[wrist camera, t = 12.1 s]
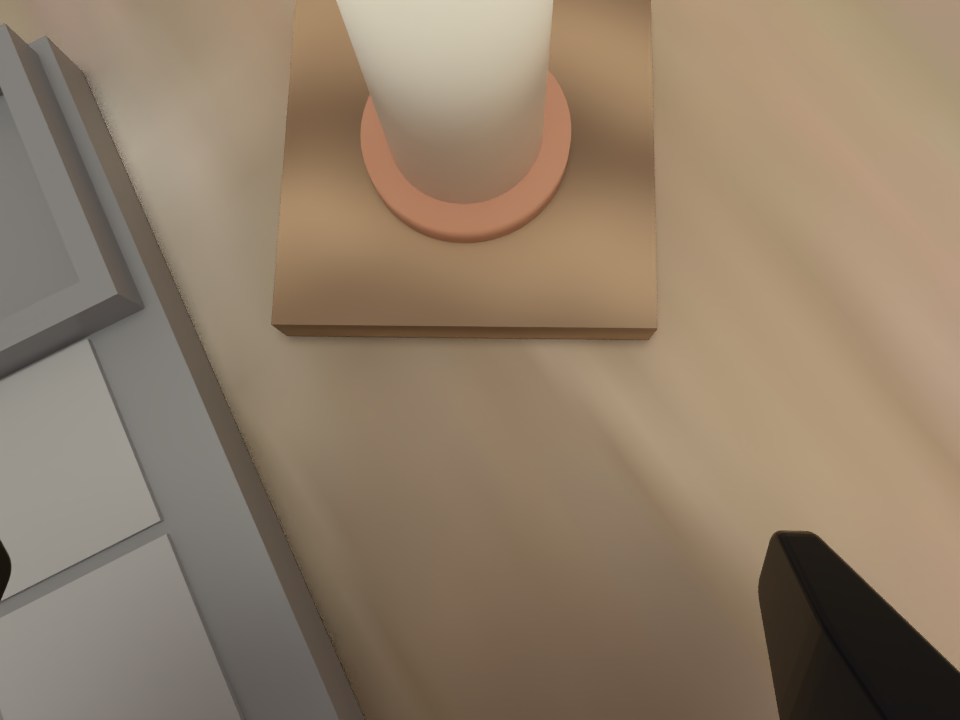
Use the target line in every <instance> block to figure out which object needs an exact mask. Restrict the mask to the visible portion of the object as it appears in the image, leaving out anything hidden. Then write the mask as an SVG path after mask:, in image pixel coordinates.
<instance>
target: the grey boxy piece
mask: <svg viewBox="0 0 960 720" xmlns="http://www.w3.org/2000/svg"><path fill="white" fill-rule="evenodd" d="M0 540H1V541H2V543H3V545H4V547H5V549H6V550H7V552H8V554H9V556H10V559H11V564H12V566H11V575H10V579H9V582H8V584H7V587H6V589H5V592H4V594H3V597H2V599H1V601H0V720H365V719H364V717H363V714H362V712H361V710H360V708H359V705H358V703H357V701H356V698H355V696H354V694H353V691H352V689H351V687H350V685H349V682H348V680H347V678H346V675H345V673H344V671H343V669H342V666H341V664H340V662H339V659H338V657H337V655H336V652H335V650H334V648H333V646H332V643H331V641H330V639H329V636H328V634H327V632H326V629H325V627H324V625H323V623H322V620H321V618H320V616H319V613H318V611H317V609H316V607H315V604H314V602H313V600H312V597H311V595H310V593H309V590H308V588H307V586H306V584H305V581H304V579H303V577H302V574H301V572H300V570H299V567H298V565H297V563H296V561H295V558H294V556H293V554H292V551H291V549H290V547H289V545H288V542H287V540H286V538H285V535H284V533H283V531H282V528H281V526H280V524H279V522H278V519H277V517H276V515H275V512H274V510H273V508H272V505H271V503H270V501H269V499H268V496H267V494H266V492H265V489H264V487H263V485H262V483H261V480H260V478H259V476H258V473H257V471H256V469H255V466H254V464H253V462H252V460H251V457H250V455H249V453H248V450H247V448H246V446H245V444H244V441H243V439H242V437H241V434H240V432H239V430H238V427H237V425H236V423H235V421H234V418H233V416H232V414H231V411H230V409H229V407H228V404H227V402H226V400H225V398H224V395H223V393H222V391H221V388H220V386H219V384H218V382H217V379H216V377H215V375H214V372H213V370H212V368H211V365H210V363H209V361H208V359H207V356H206V354H205V352H204V349H203V347H202V345H201V342H200V340H199V338H198V336H197V333H196V331H195V329H194V326H193V324H192V322H191V320H190V317H189V315H188V313H187V310H186V308H185V306H184V303H183V301H182V299H181V297H180V294H179V292H178V290H177V287H176V285H175V283H174V280H173V278H172V276H171V274H170V271H169V269H168V267H167V264H166V262H165V260H164V258H163V255H162V253H161V251H160V248H159V246H158V244H157V241H156V239H155V237H154V235H153V232H152V230H151V228H150V225H149V223H148V221H147V218H146V216H145V214H144V212H143V209H142V207H141V205H140V202H139V200H138V198H137V196H136V193H135V191H134V189H133V186H132V184H131V182H130V179H129V177H128V175H127V173H126V170H125V168H124V166H123V163H122V161H121V159H120V156H119V154H118V152H117V150H116V147H115V145H114V143H113V140H112V138H111V136H110V134H109V131H108V129H107V127H106V124H105V122H104V120H103V117H102V115H101V113H100V111H99V108H98V106H97V104H96V101H95V99H94V97H93V95H92V92H91V90H90V88H89V85H88V83H87V81H86V78H85V76H84V74H83V72H82V71H81V70H80V69H79V68H78V67H77V66H76V65H75V64H74V63H73V62H72V61H71V60H70V59H69V58H68V57H67V56H66V55H65V54H64V53H63V52H62V51H61V50H60V49H59V48H58V47H57V46H56V45H55V44H54V43H53V42H52V41H51V40H50V39H49V38H48V37H47V36H44V37H42V38H40V39H38V40H36V41H34V42H32V43H29V44H27V43H25V42H24V41H23V40H22V39H21V38H20V37H19V36H18V35H17V34H16V33H15V32H14V31H13V30H11V29H10V28H9V27H8V26H7V25H6V24H3V25H0Z"/></svg>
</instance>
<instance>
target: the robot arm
mask: <svg viewBox="0 0 960 720" xmlns="http://www.w3.org/2000/svg"><path fill="white" fill-rule="evenodd" d="M11 566H12V564H11V559H10V556H9V554H8V552H7V550H6V549H5V547H4V545H3V543H2V541H1V540H0V601H1V599H2V597H3V594H4V592H5V589H6V587H7V584H8V582H9V579H10V575H11ZM758 593H759V603H760V609H761V614H762V620H763V626H764V632H765V638H766V643H767V649H768V655H769V661H770V666H771V672H772V678H773V684H774V689H775V695H776V701H777V707H778V712H779V718H780V720H960V672H959V671H958V670H957V669H956V668H955V667H954V666H953V665H952V664H951V663H950V662H949V661H948V660H947V659H946V658H945V657H944V656H943V655H942V654H941V653H939V652H938V651H937V650H936V649H935V648H934V647H933V646H932V645H931V644H930V643H929V642H928V641H927V640H926V639H925V638H924V637H923V636H922V635H921V634H920V633H919V632H918V631H917V630H916V629H915V628H914V627H912V626H911V625H910V624H909V623H908V622H907V621H906V620H905V619H904V618H903V617H902V616H901V615H900V614H899V613H898V612H897V611H896V610H895V609H894V608H893V607H892V606H891V605H890V604H889V603H888V602H886V601H885V600H884V599H883V598H882V597H881V596H880V595H879V594H878V593H877V592H876V591H875V590H874V589H873V588H872V587H871V586H870V585H869V584H868V583H867V582H866V581H865V580H864V579H863V578H862V577H860V576H859V575H858V574H857V573H856V572H855V571H854V570H853V569H852V568H851V567H850V566H849V565H848V564H847V563H846V562H845V561H844V560H843V559H842V558H841V557H840V556H839V555H838V554H837V553H836V552H834V551H833V550H832V549H831V548H830V547H829V546H828V545H827V544H826V543H825V542H824V541H823V540H822V539H821V538H820V537H819V536H818V535H816V534H814V533H812V532H809V531H777V532H775V533H774V534H773V535H772V537H771V539H770V542H769V546H768V549H767V553H766V556H765V560H764V564H763V567H762V571H761V575H760V578H759V586H758Z"/></svg>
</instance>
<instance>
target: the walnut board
mask: <svg viewBox="0 0 960 720" xmlns="http://www.w3.org/2000/svg"><path fill="white" fill-rule="evenodd" d="M548 70H549V71H550V72H551V74H552V75H553V76H554V77H555V79H556V80H557V82H558V84H559V85H560V87H561V89H562V91H563V93H564V96H565V98H566V101H567V104H568V108H569V112H570V118H571V143H570V149H569V155H568V161H567V167H566V171H565V174H564V177H563V180H562V182H561V184H560V186H559V188H558V190H557V192H556V194H555V195H554V197H553V198H552V200H551V201H550V203H549V204H548V205H547V206H546V207H545V208H544V210H543V211H542V212H541V213H540V214H539V215H537V216H536V217H535V218H534V219H533V220H532V221H530V222H529V223H527V224H526V225H525V226H523V227H522V228H520V229H518V230H516V231H514V232H512V233H510V234H508V235H505V236H503V237H500V238H497V239H493V240H489V241H485V242H477V243H454V242H447V241H442V240H438V239H435V238H431V237H428V236H426V235H424V234H421V233H419V232H417V231H415V230H414V229H412V228H410V227H409V226H407V225H406V224H404V223H403V222H402V221H401V220H399V219H398V218H397V217H396V216H395V215H394V214H393V213H392V212H391V211H390V210H389V209H388V208H387V206H386V205H385V203H384V202H383V201H382V199H381V198H380V196H379V194H378V192H377V190H376V189H375V187H374V184H373V182H372V180H371V178H370V176H369V173H368V171H367V168H366V165H365V162H364V159H363V154H362V149H361V138H360V133H361V121H362V117H363V112H364V108H365V106H366V103H367V100H368V97H369V95H370V93H369V90H368V87H367V85H366V82H365V79H364V76H363V74H362V71H361V68H360V65H359V62H358V60H357V57H356V54H355V51H354V49H353V46H352V43H351V40H350V37H349V35H348V32H347V29H346V26H345V23H344V21H343V18H342V15H341V12H340V10H339V7H338V4H337V1H336V0H296V3H295V16H294V30H293V43H292V56H291V69H290V83H289V96H288V109H287V122H286V136H285V149H284V162H283V175H282V189H281V202H280V215H279V228H278V241H277V255H276V268H275V281H274V294H273V308H272V321H271V325H273V326H274V327H276V328H277V329H278V330H280V331H281V332H283V333H284V334H285V335H287V336H363V337H456V338H550V339H643V340H649V339H650V337H651V336H652V335H653V334H654V332H655V331H656V330H657V328H658V323H657V275H656V227H655V178H654V130H653V82H652V34H651V0H553V11H552V23H551V36H550V49H549V62H548Z"/></svg>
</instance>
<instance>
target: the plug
mask: <svg viewBox="0 0 960 720" xmlns="http://www.w3.org/2000/svg"><path fill="white" fill-rule="evenodd" d="M336 1H337V4H338V7H339V10H340V12H341V15H342V18H343V21H344V23H345V26H346V29H347V32H348V35H349V37H350V40H351V43H352V46H353V49H354V51H355V54H356V57H357V60H358V62H359V65H360V68H361V71H362V74H363V76H364V79H365V82H366V85H367V87H368V90H369V93H370V95H369V97H368V100H367V103H366V106H365V108H364V112H363V117H362V121H361V133H360V138H361V149H362V154H363V159H364V162H365V165H366V168H367V171H368V173H369V176H370V178H371V180H372V182H373V184H374V187H375V189H376V190H377V192H378V194H379V196H380V198H381V199H382V201H383V202H384V203H385V205H386V206H387V208H388V209H389V210H390V211H391V212H392V213H393V214H394V215H395V216H396V217H397V218H398V219H399V220H401V221H402V222H403V223H404V224H406V225H407V226H409V227H410V228H412V229H414V230H415V231H417V232H419V233H421V234H424V235H426V236H428V237H431V238H435V239H438V240H442V241H447V242H454V243H477V242H485V241H489V240H493V239H497V238H500V237H503V236H505V235H508V234H510V233H512V232H514V231H516V230H518V229H520V228H522V227H523V226H525V225H526V224H527V223H529V222H530V221H532V220H533V219H534V218H535V217H536V216H537V215H539V214H540V213H541V212H542V211H543V210H544V208H545V207H546V206H547V205H548V204H549V203H550V201H551V200H552V198H553V197H554V195H555V194H556V192H557V190H558V188H559V186H560V184H561V182H562V180H563V177H564V174H565V171H566V167H567V161H568V155H569V149H570V143H571V118H570V112H569V108H568V104H567V101H566V98H565V96H564V93H563V91H562V89H561V87H560V85H559V84H558V82H557V80H556V79H555V77H554V76H553V75H552V74H551V72H550V71H549V70H548V62H549V49H550V36H551V23H552V11H553V0H336Z"/></svg>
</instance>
